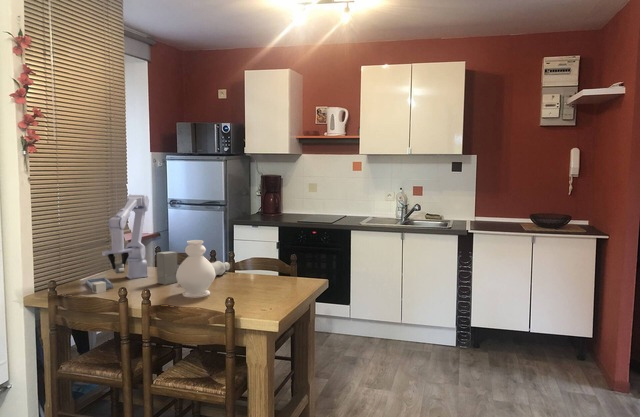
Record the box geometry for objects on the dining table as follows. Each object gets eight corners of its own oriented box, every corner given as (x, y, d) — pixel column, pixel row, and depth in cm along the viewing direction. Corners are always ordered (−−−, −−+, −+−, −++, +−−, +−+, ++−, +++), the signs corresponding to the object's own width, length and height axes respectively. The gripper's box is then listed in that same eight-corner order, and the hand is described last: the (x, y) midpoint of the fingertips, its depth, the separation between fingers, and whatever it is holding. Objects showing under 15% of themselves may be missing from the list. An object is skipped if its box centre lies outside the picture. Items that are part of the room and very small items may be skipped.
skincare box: (164, 285, 256) (164, 254, 255) (156, 283, 261) (155, 252, 259) (178, 282, 263) (178, 251, 262) (170, 280, 267) (169, 250, 266)
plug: (111, 269, 259) (111, 262, 259) (120, 268, 262) (119, 261, 261) (118, 274, 249) (117, 266, 249) (126, 273, 252) (126, 265, 251)
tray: (85, 283, 260) (85, 279, 260) (105, 280, 265) (104, 277, 265) (92, 290, 246) (92, 286, 246) (113, 287, 251) (113, 284, 251)
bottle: (199, 279, 256) (235, 269, 282) (191, 263, 257) (228, 255, 284) (188, 287, 260) (224, 277, 286) (180, 271, 261) (217, 262, 288)
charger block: (101, 290, 247) (101, 280, 247) (106, 291, 245) (105, 282, 244) (91, 292, 244) (91, 282, 243) (96, 293, 241) (96, 284, 241)
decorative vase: (197, 301, 228) (196, 245, 226) (168, 295, 237) (166, 242, 235) (223, 292, 244) (222, 240, 241) (195, 287, 253) (194, 237, 250)
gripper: (104, 244, 247) (105, 271, 248) (134, 241, 255) (135, 268, 257) (100, 242, 253) (101, 269, 254) (131, 239, 261) (131, 265, 262)
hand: (118, 268), depth 256 cm, fingers closed on plug, 4 cm apart
